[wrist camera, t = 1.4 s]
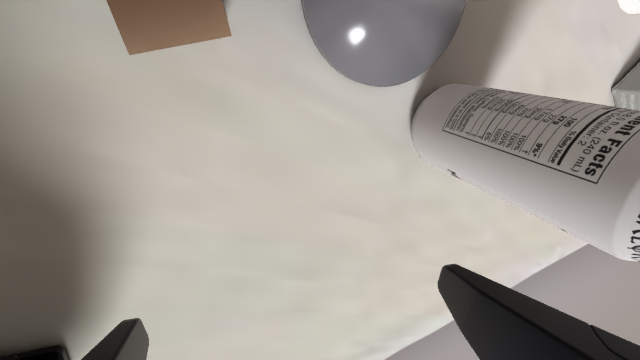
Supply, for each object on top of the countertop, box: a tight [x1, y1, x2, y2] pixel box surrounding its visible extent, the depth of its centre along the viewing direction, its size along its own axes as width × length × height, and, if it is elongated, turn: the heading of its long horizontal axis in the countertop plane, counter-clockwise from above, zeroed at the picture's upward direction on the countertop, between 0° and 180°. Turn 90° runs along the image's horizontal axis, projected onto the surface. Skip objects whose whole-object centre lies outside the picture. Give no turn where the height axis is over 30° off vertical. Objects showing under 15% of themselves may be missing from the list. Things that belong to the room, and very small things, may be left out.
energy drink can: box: [411, 83, 640, 261], centre depth 17 cm, size 6×6×15 cm
